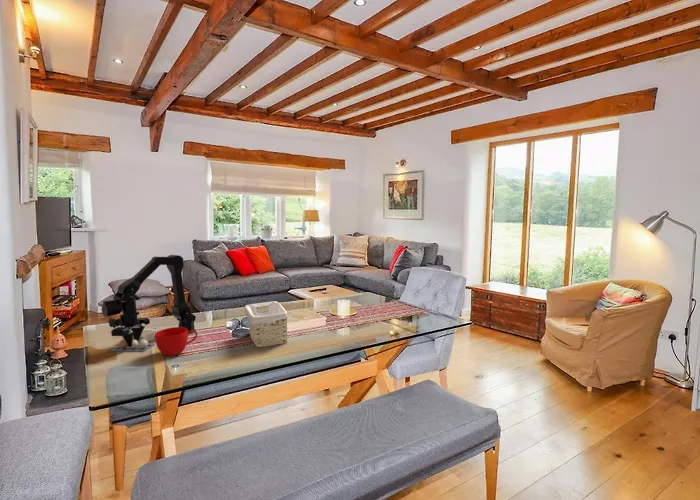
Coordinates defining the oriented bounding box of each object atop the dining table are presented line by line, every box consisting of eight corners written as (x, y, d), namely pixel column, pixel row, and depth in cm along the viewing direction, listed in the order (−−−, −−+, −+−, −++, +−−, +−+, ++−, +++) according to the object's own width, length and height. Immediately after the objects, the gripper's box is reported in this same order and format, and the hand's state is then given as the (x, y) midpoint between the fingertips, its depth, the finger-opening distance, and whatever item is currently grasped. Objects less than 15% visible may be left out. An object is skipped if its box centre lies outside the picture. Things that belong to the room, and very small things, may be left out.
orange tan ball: (131, 346, 188) (130, 338, 188) (125, 349, 184) (124, 341, 184) (123, 346, 189) (122, 338, 188) (117, 349, 185) (115, 341, 184)
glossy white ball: (150, 346, 187) (149, 338, 186) (144, 349, 183) (143, 341, 182) (142, 346, 187) (141, 338, 187) (136, 349, 183) (135, 341, 183)
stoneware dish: (158, 337, 202) (157, 329, 201) (144, 344, 191) (143, 336, 190) (138, 336, 203) (137, 329, 203) (122, 344, 193) (122, 336, 192)
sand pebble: (140, 346, 187) (139, 338, 187) (134, 349, 183) (133, 341, 183) (132, 346, 188) (131, 338, 187) (126, 349, 184) (125, 341, 184)
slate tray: (155, 346, 189) (155, 344, 188) (144, 352, 181) (144, 350, 181) (123, 346, 191) (123, 343, 191) (111, 352, 183) (111, 350, 183)
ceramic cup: (201, 353, 177) (199, 330, 176) (158, 362, 169) (155, 338, 167) (196, 344, 188) (194, 323, 187) (155, 352, 180) (153, 330, 179)
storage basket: (290, 343, 184) (288, 311, 182) (253, 350, 178) (251, 317, 176) (279, 329, 206) (277, 300, 204) (246, 334, 200) (244, 304, 199)
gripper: (127, 305, 194) (130, 337, 196) (97, 317, 176) (102, 352, 177) (148, 305, 192) (152, 338, 194) (121, 317, 174) (125, 352, 176)
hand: (133, 344), depth 186 cm, fingers closed on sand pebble, 4 cm apart
